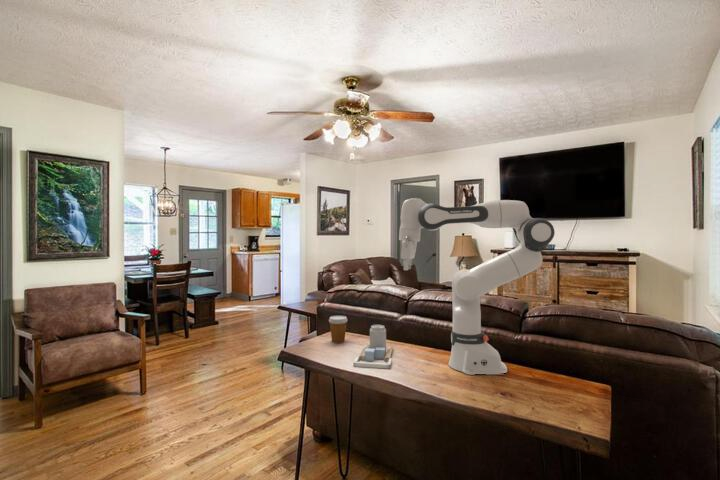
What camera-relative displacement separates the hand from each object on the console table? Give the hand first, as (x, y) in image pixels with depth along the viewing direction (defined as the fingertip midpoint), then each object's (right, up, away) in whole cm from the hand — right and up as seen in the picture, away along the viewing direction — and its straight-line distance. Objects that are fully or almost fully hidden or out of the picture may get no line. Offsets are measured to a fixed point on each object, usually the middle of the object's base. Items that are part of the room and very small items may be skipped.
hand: (407, 269), depth 151 cm
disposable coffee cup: (-31, -39, +31) cm, 58 cm away
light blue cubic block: (-15, -39, +5) cm, 42 cm away
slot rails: (-12, -39, +11) cm, 42 cm away
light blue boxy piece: (-11, -39, +7) cm, 41 cm away
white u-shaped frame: (-14, -39, -1) cm, 42 cm away
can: (-12, -39, +14) cm, 43 cm away
